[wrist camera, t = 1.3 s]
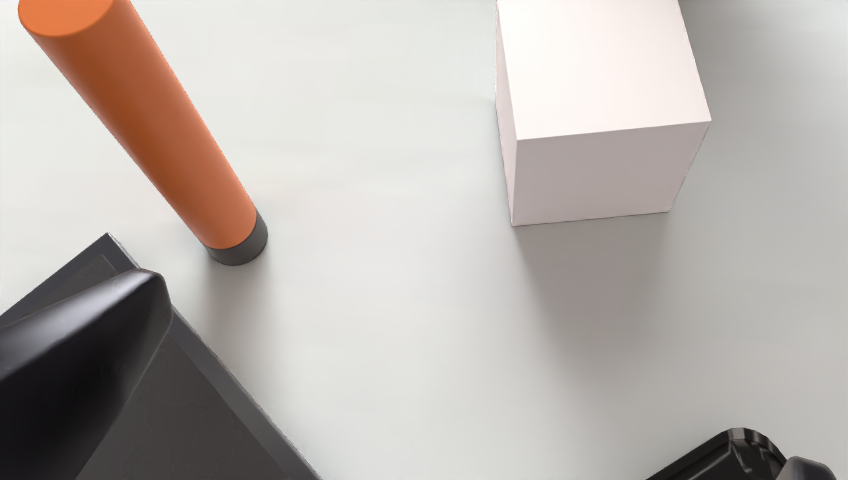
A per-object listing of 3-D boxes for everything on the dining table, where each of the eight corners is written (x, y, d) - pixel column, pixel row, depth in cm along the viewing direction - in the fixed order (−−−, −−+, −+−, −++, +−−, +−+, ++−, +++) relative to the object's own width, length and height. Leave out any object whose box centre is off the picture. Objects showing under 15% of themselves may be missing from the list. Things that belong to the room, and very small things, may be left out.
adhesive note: (494, 99, 31) (495, -6, 25) (638, 85, 31) (670, -25, 25) (511, 227, 28) (516, 139, 23) (669, 212, 28) (712, 120, 23)
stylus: (232, 277, 28) (49, 54, 17) (195, 238, 29) (-2, 0, 17) (280, 237, 29) (136, -6, 17) (243, 200, 30) (82, -56, 18)
